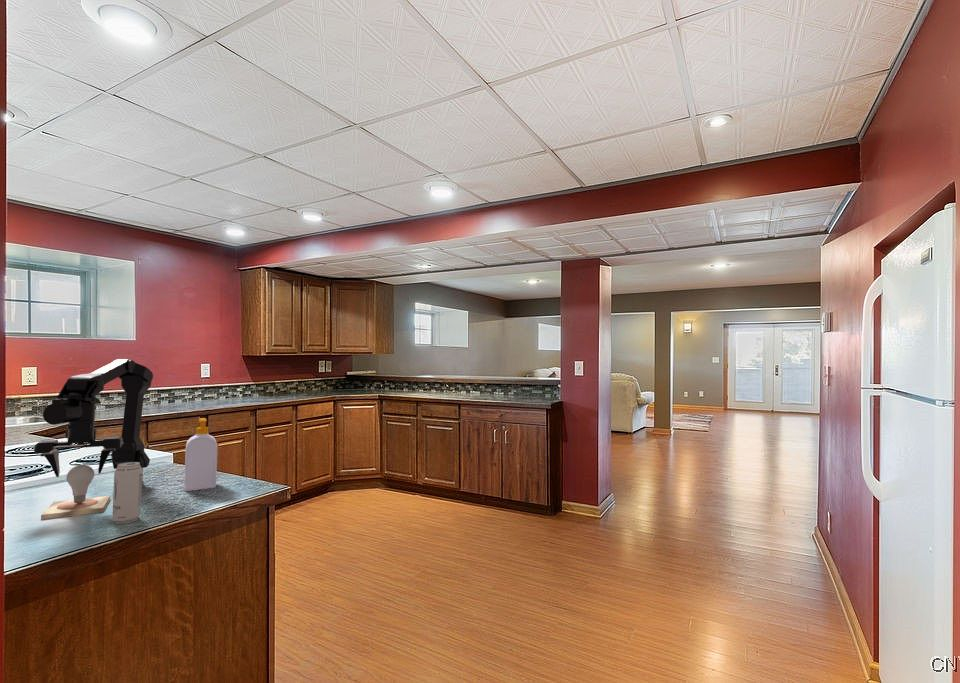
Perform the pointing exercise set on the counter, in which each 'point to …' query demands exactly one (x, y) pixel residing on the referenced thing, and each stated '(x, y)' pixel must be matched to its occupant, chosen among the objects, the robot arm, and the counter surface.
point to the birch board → (75, 507)
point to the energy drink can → (127, 492)
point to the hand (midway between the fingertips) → (79, 475)
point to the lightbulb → (80, 481)
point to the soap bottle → (200, 460)
